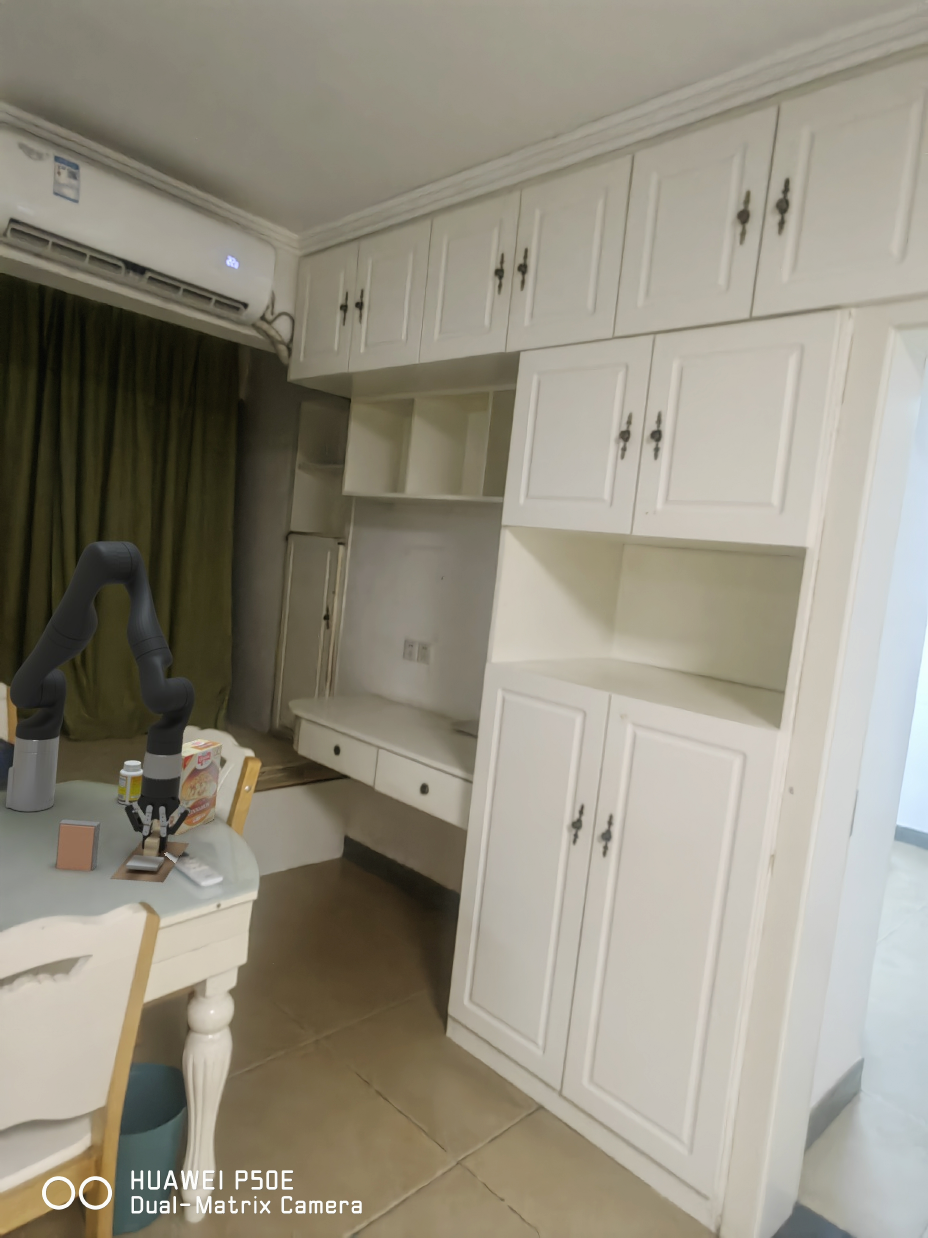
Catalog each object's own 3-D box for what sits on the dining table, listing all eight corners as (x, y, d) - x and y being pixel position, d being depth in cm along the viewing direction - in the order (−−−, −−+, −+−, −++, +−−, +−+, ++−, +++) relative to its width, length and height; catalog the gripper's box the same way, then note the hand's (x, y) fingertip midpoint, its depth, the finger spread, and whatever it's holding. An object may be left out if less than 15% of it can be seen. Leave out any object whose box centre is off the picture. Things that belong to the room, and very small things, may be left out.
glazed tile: (54, 872, 149) (58, 823, 148) (59, 867, 151) (63, 819, 150) (91, 875, 149) (95, 826, 149) (95, 870, 152) (100, 822, 151)
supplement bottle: (144, 799, 194) (147, 760, 193) (136, 806, 188) (140, 766, 187) (121, 797, 193) (125, 758, 192) (113, 804, 188) (117, 764, 187)
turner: (156, 871, 151) (158, 852, 151) (125, 868, 150) (127, 849, 150) (175, 844, 165) (177, 827, 165) (147, 842, 164) (149, 824, 164)
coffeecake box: (177, 839, 172) (185, 756, 170) (151, 832, 173) (158, 750, 172) (215, 819, 186) (223, 743, 184) (191, 813, 188) (198, 737, 186)
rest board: (110, 882, 147) (110, 878, 147) (142, 843, 167) (142, 839, 167) (162, 886, 148) (162, 882, 148) (188, 846, 168) (189, 843, 168)
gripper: (121, 774, 153) (113, 856, 154) (191, 780, 154) (183, 861, 156) (133, 763, 160) (126, 842, 162) (200, 770, 162) (192, 847, 163)
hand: (154, 851), depth 159 cm, fingers closed on turner, 2 cm apart
